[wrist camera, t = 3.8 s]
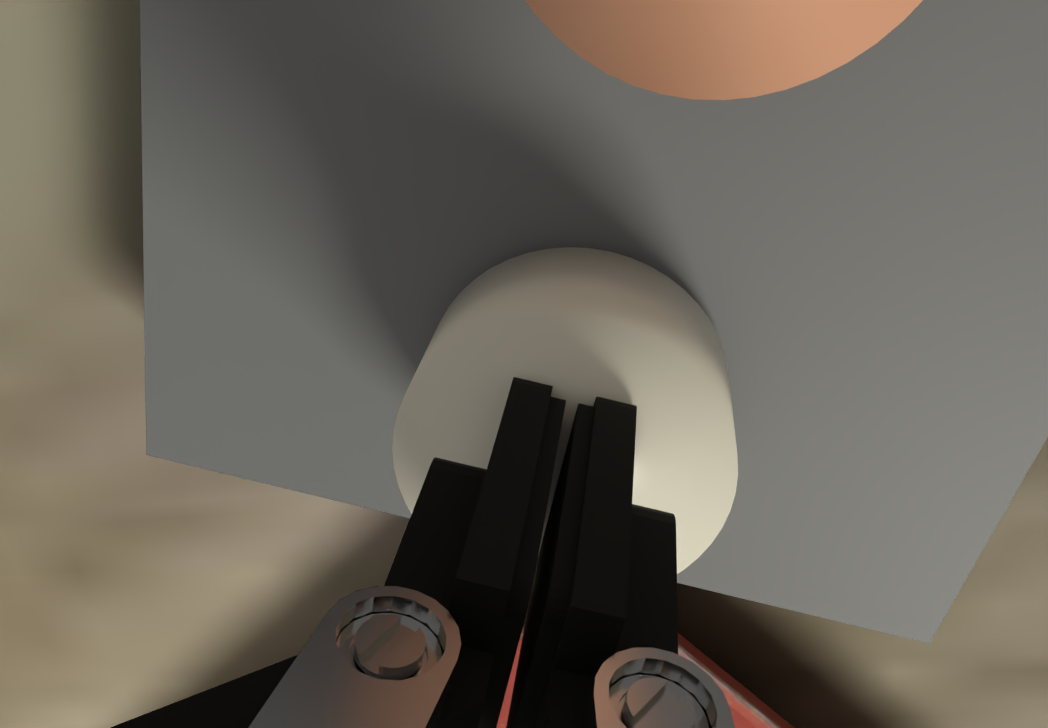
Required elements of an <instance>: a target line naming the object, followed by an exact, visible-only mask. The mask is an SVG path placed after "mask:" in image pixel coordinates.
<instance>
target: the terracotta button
mask: <svg viewBox="0 0 1048 728" xmlns="http://www.w3.org/2000/svg"><path fill="white" fill-rule="evenodd" d="M525 1H526V2H527V3H528V5H529V6H530V8H531V9H532V10H533V12H534V13H535V15H536V16H537V17H538V18H539V19H540V20H541V21H542V22H543V23H544V24H545V25H546V26H547V28H548V29H549V30H550V31H551V32H552V33H553V34H554V35H555V36H556V37H557V38H558V39H559V40H560V41H562V42H563V43H564V44H565V45H566V46H568V47H569V48H570V49H571V50H572V51H574V52H575V53H576V54H577V55H578V56H580V57H581V58H582V59H584V60H586V61H587V62H589V63H590V64H592V65H594V66H595V67H597V68H598V69H600V70H602V71H603V72H605V73H606V74H609V75H611V76H613V77H615V78H617V79H620V80H622V81H624V82H626V83H628V84H631V85H633V86H636V87H639V88H642V89H646V90H649V91H652V92H656V93H659V94H662V95H668V96H674V97H681V98H687V99H695V100H731V99H740V98H750V97H757V96H761V95H766V94H770V93H774V92H778V91H783V90H787V89H789V88H792V87H795V86H798V85H800V84H803V83H806V82H808V81H811V80H814V79H817V78H819V77H821V76H823V75H825V74H826V73H828V72H830V71H832V70H834V69H836V68H838V67H840V66H842V65H844V64H846V63H848V62H849V61H851V60H852V59H854V58H855V57H857V56H858V55H860V54H861V53H863V52H864V51H866V50H867V49H869V48H870V47H872V46H873V45H875V44H876V43H878V42H879V41H880V40H881V39H882V38H884V37H885V36H886V35H887V34H888V33H889V32H891V31H892V30H893V29H894V28H895V27H897V26H898V25H899V24H900V23H901V22H903V21H904V20H905V19H906V18H907V17H908V16H909V14H910V13H911V12H912V11H913V10H914V9H915V8H916V7H917V6H918V5H919V4H920V3H921V2H922V1H923V0H525Z"/></svg>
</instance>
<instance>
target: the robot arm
mask: <svg viewBox="0 0 1048 728" xmlns="http://www.w3.org/2000/svg"><path fill="white" fill-rule="evenodd" d="M552 388H553V386H551V385H546V384H542V383H538V382H533V381H529V380H525V379H521V378H516V377H513V380H512V384H511V387H510V391H509V394H508V398H507V401H506V405H505V408H504V412H503V415H502V418H501V422H500V425H499V429H498V432H497V436H496V439H495V443H494V446H493V450H492V453H491V457H490V460H489V464H488V467H487V469H483V468H479V467H474V466H470V465H466V464H462V463H458V462H453V461H449V460H445V459H441V458H436V457H435V458H434V459H433V461H432V463H431V465H430V468H429V470H428V473H427V475H426V478H425V481H424V483H423V486H422V488H421V491H420V494H419V496H418V499H417V502H416V504H415V507H414V509H413V512H412V515H411V517H410V520H409V522H408V525H407V528H406V530H405V533H404V536H403V538H402V541H401V543H400V546H399V549H398V551H397V554H396V556H395V559H394V562H393V564H392V567H391V569H390V572H389V575H388V577H387V580H386V583H385V585H384V586H375V587H370V588H366V589H362V590H357V591H355V592H353V593H351V594H350V595H348V596H346V597H344V598H342V599H340V600H339V601H338V602H337V603H336V604H335V605H334V606H333V607H332V608H331V609H330V610H329V611H328V612H327V614H326V615H325V617H324V618H323V620H322V621H321V622H320V624H319V625H318V627H317V628H316V630H315V631H314V633H313V634H312V636H311V637H310V638H309V640H308V641H307V643H306V644H305V646H304V647H303V649H302V650H301V652H300V653H299V655H297V656H294V657H291V658H289V659H286V660H284V661H281V662H278V663H276V664H273V665H271V666H268V667H266V668H263V669H260V670H258V671H255V672H253V673H250V674H248V675H245V676H242V677H240V678H237V679H235V680H232V681H230V682H227V683H224V684H222V685H219V686H217V687H214V688H211V689H209V690H206V691H204V692H201V693H199V694H196V695H193V696H191V697H188V698H186V699H183V700H181V701H178V702H175V703H173V704H170V705H168V706H165V707H162V708H160V709H157V710H155V711H152V712H150V713H147V714H144V715H142V716H139V717H137V718H134V719H132V720H129V721H126V722H124V723H121V724H119V725H116V726H114V727H111V728H496V727H497V723H498V719H499V716H500V712H501V708H502V704H503V701H504V697H505V693H506V689H507V685H508V682H509V678H510V674H511V670H512V666H513V663H514V659H515V655H516V651H517V647H518V644H519V640H520V636H521V632H522V628H523V625H524V621H525V617H526V621H525V626H524V632H523V637H522V643H521V648H520V654H519V659H518V665H517V670H516V676H515V681H514V687H513V693H512V698H511V704H510V709H509V715H508V720H507V726H506V728H735V725H734V721H733V717H732V713H731V709H730V707H729V705H728V702H727V700H726V698H725V695H724V693H723V691H722V690H721V689H720V687H719V686H718V685H717V684H716V682H715V681H714V680H713V679H712V677H711V676H710V675H709V674H707V673H706V672H705V671H704V670H702V669H701V668H700V667H699V666H697V665H696V664H695V663H694V662H692V661H690V660H688V659H686V658H684V657H682V656H680V655H678V612H677V551H676V519H675V516H674V514H672V513H668V512H664V511H660V510H656V509H651V508H647V507H643V506H639V505H635V504H632V496H633V476H634V456H635V436H636V416H637V406H636V405H631V404H627V403H623V402H619V401H614V400H610V399H606V398H602V397H596V399H595V402H594V406H589V405H585V404H580V403H579V404H578V407H577V410H576V414H575V417H574V421H573V425H572V429H571V433H570V437H569V440H568V444H567V448H566V452H565V456H564V460H563V463H562V467H561V471H560V475H559V479H558V483H557V486H556V490H555V494H554V498H553V502H552V505H551V509H550V513H549V517H548V521H547V525H546V528H545V532H544V536H543V540H542V544H541V548H540V543H541V537H542V532H543V526H544V521H545V515H546V510H547V504H548V499H549V493H550V488H551V482H552V476H553V471H554V465H555V460H556V454H557V449H558V443H559V438H560V432H561V426H562V421H563V415H564V410H565V404H566V400H563V399H559V398H555V397H551V393H552ZM539 549H540V551H539ZM538 554H539V555H538ZM527 609H528V610H527ZM526 613H527V615H526Z"/></svg>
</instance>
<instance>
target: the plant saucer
mask: <svg viewBox="0 0 1048 728" xmlns="http://www.w3.org/2000/svg"><path fill="white" fill-rule="evenodd" d="M524 626H525V625H524ZM524 626H523V628H522V632H521V636H520V640H519V644H518V647H517V651H516V655H515V659H514V663H513V666H512V670H511V674H510V678H509V682H508V685H507V689H506V693H505V697H504V701H503V704H502V708H501V712H500V716H499V719H498V723H497V727H496V728H506V726H507V720H508V715H509V709H510V704H511V698H512V693H513V687H514V681H515V676H516V670H517V665H518V659H519V654H520V648H521V643H522V637H523V632H524ZM678 655H680V656H682V657H684V658H686V659H688V660H690V661H692V662H694V663H695V664H696V665H697V666H699V667H700V668H701V669H702V670H704V671H705V672H706V673H707V674H709V675H710V676H711V677H712V679H713V680H714V681H715V682H716V684H717V685H718V686H719V687H720V689H721V690H722V691H723V693H724V695H725V698H726V700H727V702H728V705H729V707H730V709H731V713H732V717H733V721H734V725H735V728H795V727H793V726H792V725H791V724H789V723H788V722H787V721H786V720H784V719H783V718H782V717H781V716H779V715H778V714H777V713H776V712H775V711H773V710H772V709H771V708H770V707H768V706H767V705H766V704H765V703H763V702H762V701H761V700H760V699H759V698H757V697H756V696H755V695H754V694H753V693H752V692H750V691H749V690H748V689H747V688H745V687H744V686H743V685H742V684H740V683H739V682H738V681H737V680H735V679H734V678H733V677H732V676H730V675H729V674H728V673H727V672H725V671H724V670H723V669H722V668H720V667H719V666H718V665H717V664H716V663H715V662H713V661H712V660H711V659H709V658H708V657H707V656H706V655H705V654H704V653H702V652H701V651H700V650H698V649H697V648H696V647H695V646H694V645H692V644H691V643H690V642H689V641H688V640H686V639H685V638H684V637H683V636H682V635H680V634H679V633H678Z"/></svg>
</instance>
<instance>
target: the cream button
mask: <svg viewBox="0 0 1048 728" xmlns="http://www.w3.org/2000/svg"><path fill="white" fill-rule="evenodd" d="M513 377H516V378H521V379H525V380H529V381H533V382H538V383H542V384H546V385H551V386H553V388H552V393H551V397H555V398H559V399H563V400H566V404H565V410H564V415H563V421H562V426H561V432H560V438H559V443H558V449H557V454H556V460H555V465H554V471H553V476H552V482H551V488H550V493H549V499H548V504H547V510H546V515H545V521H544V526H543V532H542V537H541V543H540V548H541V544H542V540H543V536H544V532H545V528H546V525H547V521H548V517H549V513H550V509H551V505H552V502H553V498H554V494H555V490H556V486H557V483H558V479H559V475H560V471H561V467H562V463H563V460H564V456H565V452H566V448H567V444H568V440H569V437H570V433H571V429H572V425H573V421H574V417H575V414H576V410H577V407H578V404H579V403H580V404H585V405H589V406H594V402H595V399H596V397H602V398H606V399H610V400H614V401H619V402H623V403H627V404H631V405H636V406H637V416H636V436H635V456H634V476H633V496H632V504H635V505H639V506H643V507H647V508H651V509H656V510H660V511H664V512H668V513H672V514H674V516H675V519H676V551H677V574H678V573H680V572H681V571H683V570H684V569H686V568H687V567H688V566H689V565H690V564H692V563H693V562H694V561H695V560H696V559H698V558H699V557H700V556H701V555H702V554H703V552H704V551H705V550H706V549H707V548H708V547H709V546H710V545H711V544H712V542H713V541H714V539H715V538H716V536H717V535H718V534H719V532H720V531H721V529H722V528H723V525H724V523H725V521H726V519H727V517H728V515H729V513H730V511H731V507H732V504H733V501H734V497H735V494H736V487H737V479H738V456H737V446H736V437H735V428H734V419H733V410H732V400H731V391H730V382H729V373H728V367H727V362H726V357H725V353H724V350H723V347H722V344H721V341H720V339H719V336H718V334H717V332H716V330H715V328H714V327H713V325H712V323H711V321H710V319H709V318H708V317H707V315H706V314H705V312H704V311H703V310H702V308H701V307H700V306H699V304H698V303H697V302H696V301H695V300H694V299H693V298H692V297H691V296H690V295H689V294H688V293H687V292H686V291H685V290H684V289H683V288H682V287H680V286H679V285H678V284H677V283H675V282H674V281H673V280H672V279H670V278H669V277H668V276H666V275H664V274H663V273H661V272H659V271H658V270H656V269H654V268H653V267H651V266H649V265H647V264H644V263H642V262H640V261H637V260H635V259H633V258H630V257H627V256H624V255H620V254H617V253H614V252H610V251H604V250H598V249H592V248H577V247H563V248H551V249H544V250H539V251H534V252H529V253H526V254H523V255H520V256H517V257H514V258H511V259H508V260H506V261H504V262H502V263H500V264H498V265H496V266H494V267H492V268H490V269H489V270H487V271H486V272H484V273H483V274H481V275H480V276H478V277H477V278H476V279H474V280H473V281H472V282H471V283H470V284H469V285H468V286H467V287H465V288H464V289H463V290H462V291H461V292H460V293H459V295H458V296H457V297H456V298H455V299H454V301H453V302H452V303H451V304H450V306H449V307H448V309H447V311H446V312H445V314H444V316H443V317H442V319H441V321H440V323H439V325H438V327H437V329H436V331H435V333H434V335H433V337H432V339H431V341H430V343H429V346H428V348H427V350H426V352H425V354H424V356H423V358H422V360H421V362H420V364H419V366H418V368H417V370H416V372H415V375H414V377H413V379H412V381H411V383H410V385H409V387H408V389H407V391H406V393H405V395H404V398H403V400H402V403H401V405H400V408H399V410H398V413H397V417H396V422H395V426H394V430H393V445H392V452H393V463H394V470H395V474H396V478H397V482H398V486H399V489H400V491H401V494H402V496H403V499H404V501H405V503H406V505H407V507H408V509H409V510H410V512H411V514H412V512H413V509H414V507H415V504H416V502H417V499H418V496H419V494H420V491H421V488H422V486H423V483H424V481H425V478H426V475H427V473H428V470H429V468H430V465H431V463H432V461H433V459H434V458H435V457H436V458H441V459H445V460H449V461H453V462H458V463H462V464H466V465H470V466H474V467H479V468H483V469H487V467H488V464H489V460H490V457H491V453H492V450H493V446H494V443H495V439H496V436H497V432H498V429H499V425H500V422H501V418H502V415H503V412H504V408H505V405H506V401H507V398H508V394H509V391H510V387H511V384H512V380H513ZM539 551H540V549H539ZM538 555H539V554H538Z"/></svg>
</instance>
